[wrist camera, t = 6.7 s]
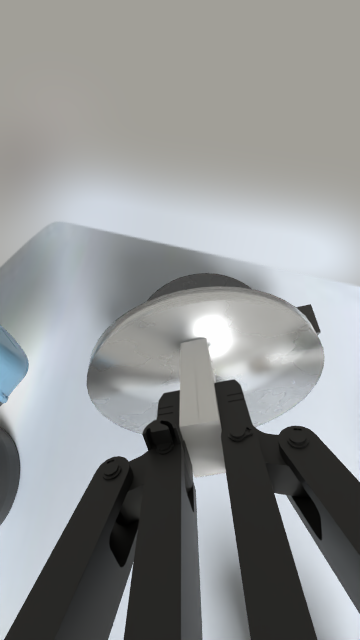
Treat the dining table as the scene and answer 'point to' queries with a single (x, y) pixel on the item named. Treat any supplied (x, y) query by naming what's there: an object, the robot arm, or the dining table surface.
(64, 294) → the dining table surface
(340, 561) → the robot arm
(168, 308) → the cooker lid
